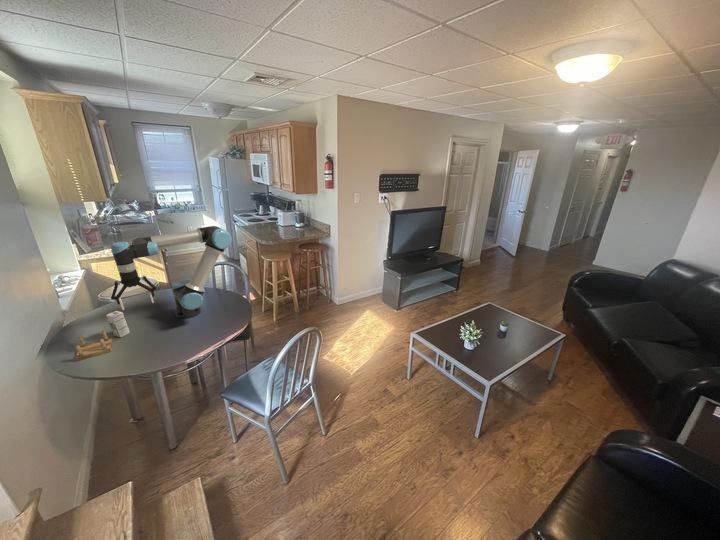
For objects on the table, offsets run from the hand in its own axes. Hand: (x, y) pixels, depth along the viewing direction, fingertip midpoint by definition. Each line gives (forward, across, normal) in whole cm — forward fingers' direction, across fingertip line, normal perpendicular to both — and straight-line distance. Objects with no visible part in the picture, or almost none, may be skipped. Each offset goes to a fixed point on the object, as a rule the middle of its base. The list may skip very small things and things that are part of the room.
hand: (138, 305), depth 161 cm
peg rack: (+21, -24, +3) cm, 32 cm away
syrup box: (+22, -12, +13) cm, 28 cm away
